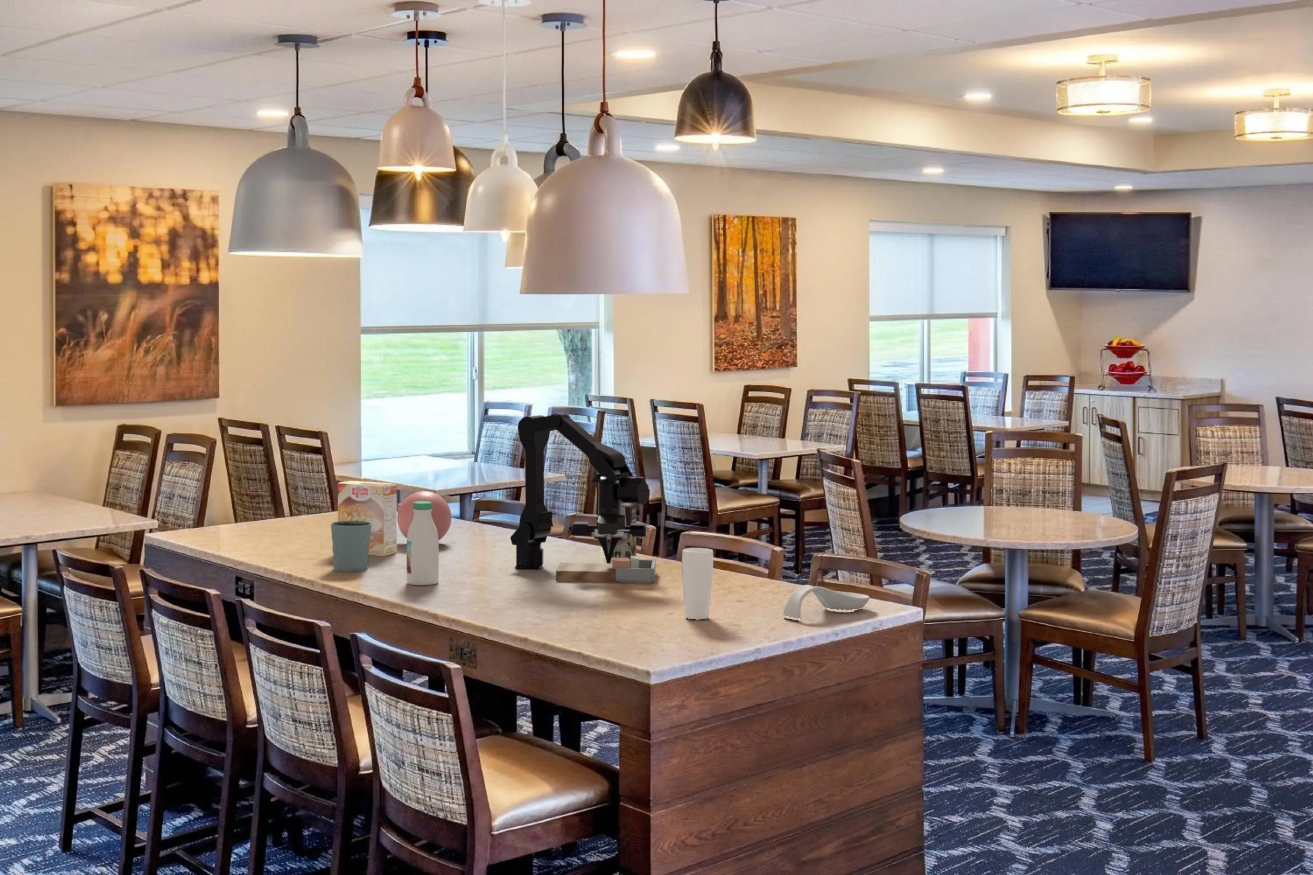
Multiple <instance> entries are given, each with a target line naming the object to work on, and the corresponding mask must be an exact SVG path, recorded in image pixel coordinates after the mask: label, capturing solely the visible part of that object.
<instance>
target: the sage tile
mask: <svg viewBox="0 0 1313 875" xmlns="http://www.w3.org/2000/svg"><path fill="white" fill-rule="evenodd" d="M639 559H640V557H639V556H638V555H636V556H630V568H639Z"/></svg>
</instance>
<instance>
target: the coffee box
mask: <svg viewBox="0 0 1313 875" xmlns="http://www.w3.org/2000/svg"><path fill="white" fill-rule="evenodd" d="M637 505H638V504H629V503H623V502H621V515H625V526H630V525H631V523H638V522H637V518H638V517H637V516H638V514H637V513H638V511H637V510H638V509H637V508H638V506H637ZM611 537H612V535H611V534H607V539H608V550H610V543H611ZM630 556H637V537H633V536H632V535H631V534H630V533H624V537H623V539H622V540H618V542H617V545H616V547H615V549H614V552H613V555H612V558H629V559H630ZM608 564H611V562H610V563H608Z"/></svg>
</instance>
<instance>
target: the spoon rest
mask: <svg viewBox="0 0 1313 875" xmlns="http://www.w3.org/2000/svg"><path fill="white" fill-rule="evenodd" d="M811 592H812V593H813V594H814V595H815V597H816V598H817V600H818V601H819V603H820V604H821V605H822V607H823V608H825V607H826V608H830V609H837V610H839V609H841V610H844V609H845V610H849V609H850V610H852V609H859V608H861V609H862V608H864V607H865V606H866V605H867V604H868V602H869V601H870V596H869V595H867V594H862V593H858V592H857V593H856V592H850V591H849V592H848V591H839V590H836V591H835V590H832V589H829V588H827V587H823V586H813V585H810V584H804V585H800V586H799V587H798V588H797V589H795V590H794V591H793V592H792V593H791V594H790V595H789V598H787V601H786V603H785V606H784V609H783V613H782V616H783V615H785V616H789V617H794V618H800V619H801V609H802V604H803V600H804V598H805V597H807V595H808V594H810V593H811ZM826 608H825V609H826ZM859 610H860V609H859Z"/></svg>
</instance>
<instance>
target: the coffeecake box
mask: <svg viewBox="0 0 1313 875" xmlns="http://www.w3.org/2000/svg"><path fill="white" fill-rule="evenodd" d="M397 486H398V485H397V483H389V482H375V481H361V480H348V481H347V480H346V481H340V482H338V483H337V522H339V521H364V522H370V523H371V532H370V541H369V554H368V556H375V557H376V556H377V557H387V556H390V555H393V554H397V553H398V550H397V547H398V541H397V540H398V534H397V533H398V532H397V531H398V530H397V529H398V522H397V514H398V512H397V507H398V506H397V500H398V499H397V498H398V496H397V488H398V487H397Z"/></svg>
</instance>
